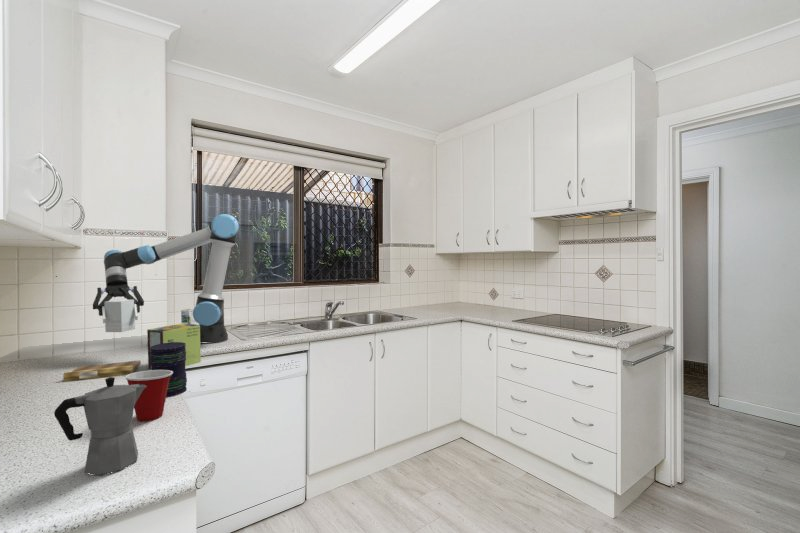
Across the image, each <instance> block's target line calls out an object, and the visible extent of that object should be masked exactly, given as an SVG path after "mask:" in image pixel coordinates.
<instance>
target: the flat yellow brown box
mask: <svg viewBox="0 0 800 533" xmlns="http://www.w3.org/2000/svg"><path fill="white" fill-rule="evenodd" d="M141 364H142V363H141V359H140V360H131V361H130V360H129V361H121V362H110V363H100V364H91V365H82V366H77V367H76V368H74V369H73V370H72V371H66V372H63V382H64V381H67V382H75V381H74V380H76V381H83V380H84V381H85V380H90V379H92V380H93V379H101V378H109V377H118V376H126V375H128V374H131V373H135V372H136V370H138V368H139V367H140V366H141Z"/></svg>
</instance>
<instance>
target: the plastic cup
mask: <svg viewBox="0 0 800 533" xmlns="http://www.w3.org/2000/svg"><path fill="white" fill-rule="evenodd" d="M172 374H173V371H170V370H152V369H148V370H141V371H135V372H134V373H131V374H128V375H124V376H125V377H124V378H125V380H126V381H127V385H135V384H144V385H146V386H147V387H146V388H145V389H144V390H143V391H142V393H141V394H140V396H139V398H138V400H137V401H136V403H135V405H134V413H135V417H136V419H137V421H138V422H143V421H144V422H150V421H149V420H151V421H154V419H155V420H158V419H159V418H161V417H162V416H163V414H164V410H165V404H166V399H167V397H166V395H167V389H168V383H169V380H170V377H171V375H172Z"/></svg>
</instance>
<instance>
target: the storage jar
mask: <svg viewBox="0 0 800 533" xmlns="http://www.w3.org/2000/svg"><path fill="white" fill-rule="evenodd" d="M185 346H186V344H185V343H183V342H171V343H163V344H157V345H154V346H151V347H150V351H151V352H150V360H151V362H150V364H151V366H152V369H151V370H170V371H173V374H172V375H171V377H170V380H169V383H168V389H167V395H166V398H172V397H176V396H178V395H179V396H180V395H182V394H184V393H186V392H187V390H188V389H187V382H188V381H187V380H188V378H187V372H186V366H185V361H186V348H185Z"/></svg>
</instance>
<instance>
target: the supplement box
mask: <svg viewBox="0 0 800 533" xmlns="http://www.w3.org/2000/svg"><path fill="white" fill-rule="evenodd" d="M104 304H105V318H106V320H105V323H104V326H105V328H104V329H105V333H124V332H129V331H133V330H135V329H136V322H135V321H136V320H135V315H134V300H127V299H114V300H112V299H111V300H109V301H106V302H104Z"/></svg>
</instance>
